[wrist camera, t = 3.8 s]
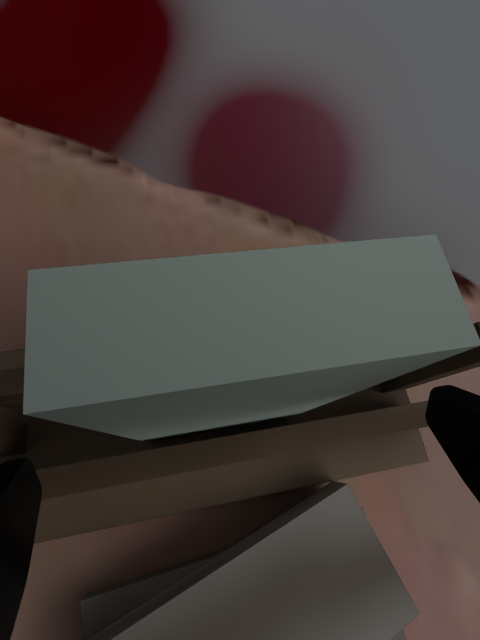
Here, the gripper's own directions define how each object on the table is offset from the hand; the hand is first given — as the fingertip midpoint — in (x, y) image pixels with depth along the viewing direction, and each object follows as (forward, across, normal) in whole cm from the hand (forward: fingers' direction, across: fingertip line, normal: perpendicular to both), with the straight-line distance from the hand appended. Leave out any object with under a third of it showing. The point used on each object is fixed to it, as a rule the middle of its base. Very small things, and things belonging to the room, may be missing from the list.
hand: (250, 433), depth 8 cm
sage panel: (+7, 0, +5) cm, 9 cm away
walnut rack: (+8, 0, +6) cm, 10 cm away
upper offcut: (+1, 0, +11) cm, 11 cm away
